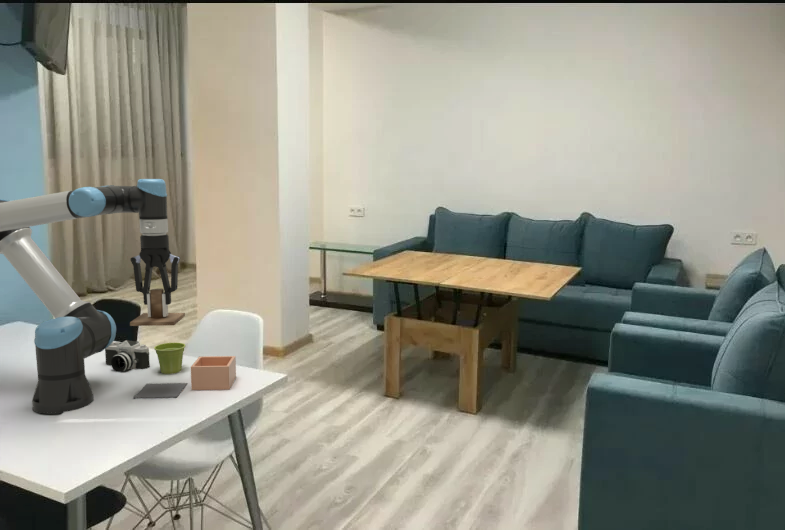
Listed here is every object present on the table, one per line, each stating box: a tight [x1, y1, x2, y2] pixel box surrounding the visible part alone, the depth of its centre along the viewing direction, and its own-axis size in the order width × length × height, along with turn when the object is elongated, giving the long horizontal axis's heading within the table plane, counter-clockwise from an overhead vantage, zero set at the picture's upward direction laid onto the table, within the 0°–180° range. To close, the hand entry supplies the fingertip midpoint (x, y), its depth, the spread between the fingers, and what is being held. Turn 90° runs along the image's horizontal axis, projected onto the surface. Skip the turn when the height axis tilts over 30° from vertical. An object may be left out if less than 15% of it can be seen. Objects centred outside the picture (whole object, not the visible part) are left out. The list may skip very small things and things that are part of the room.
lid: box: [129, 288, 186, 327], centre depth 193 cm, size 12×12×9 cm
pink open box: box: [190, 355, 237, 391], centre depth 202 cm, size 11×11×7 cm
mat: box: [133, 382, 188, 399], centre depth 196 cm, size 12×12×1 cm
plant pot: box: [153, 342, 186, 375], centre depth 213 cm, size 9×9×9 cm
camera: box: [104, 339, 151, 373], centre depth 216 cm, size 16×9×10 cm, turn 74°
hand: (158, 315), depth 193 cm, fingers closed on lid, 3 cm apart
